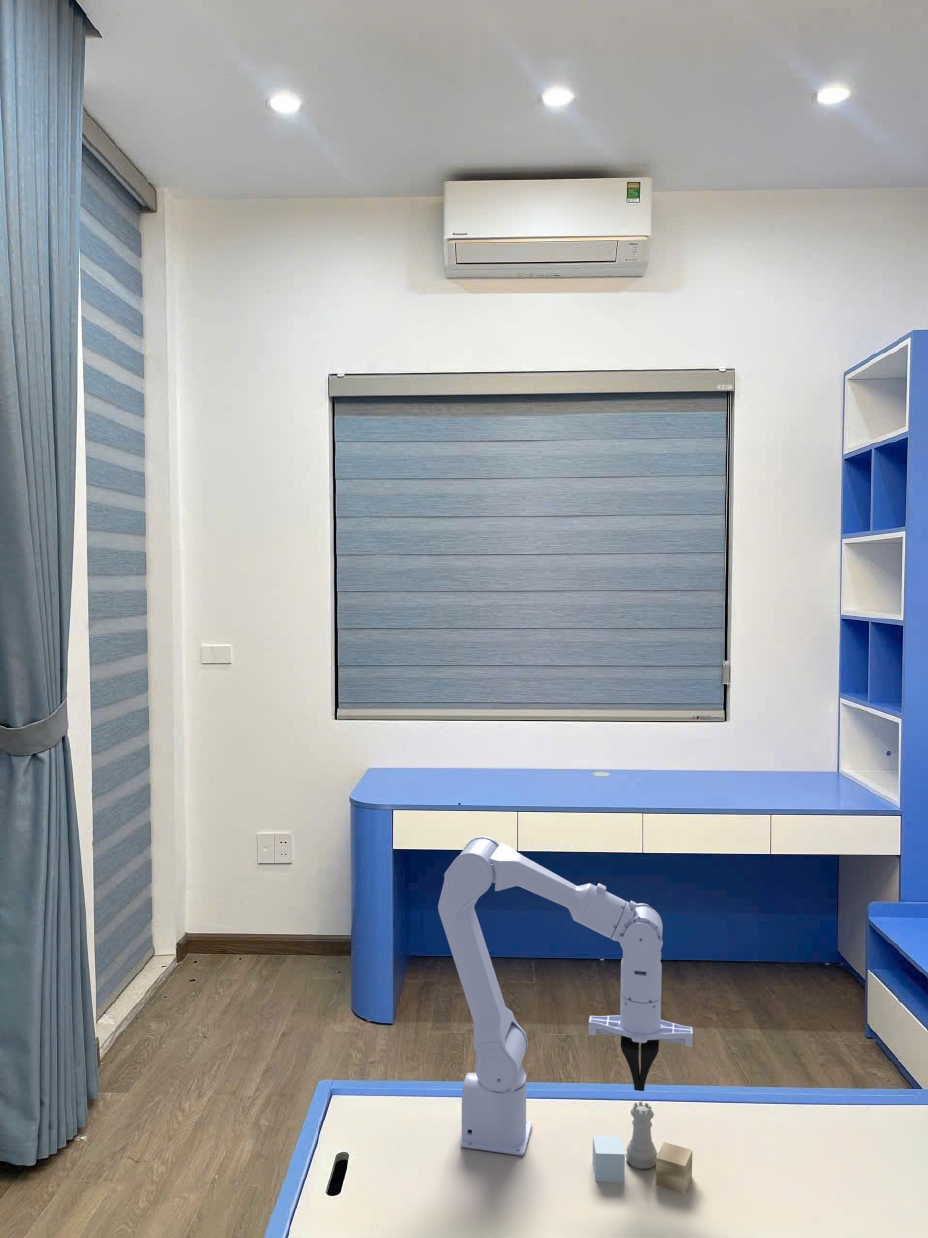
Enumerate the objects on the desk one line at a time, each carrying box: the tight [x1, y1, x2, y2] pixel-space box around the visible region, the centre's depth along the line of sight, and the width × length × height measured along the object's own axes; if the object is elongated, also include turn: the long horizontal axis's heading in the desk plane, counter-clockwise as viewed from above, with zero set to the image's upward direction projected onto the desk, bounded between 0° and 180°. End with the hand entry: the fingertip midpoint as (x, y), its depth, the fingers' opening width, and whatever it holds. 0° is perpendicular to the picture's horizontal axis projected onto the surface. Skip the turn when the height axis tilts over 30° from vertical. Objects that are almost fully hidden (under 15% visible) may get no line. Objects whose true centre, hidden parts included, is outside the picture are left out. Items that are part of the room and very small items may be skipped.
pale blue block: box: [592, 1135, 626, 1183], centre depth 129 cm, size 4×4×4 cm
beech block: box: [655, 1141, 693, 1195], centre depth 127 cm, size 4×4×4 cm
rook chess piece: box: [625, 1101, 658, 1170], centre depth 131 cm, size 4×4×8 cm
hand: (639, 1087), depth 132 cm, fingers closed
